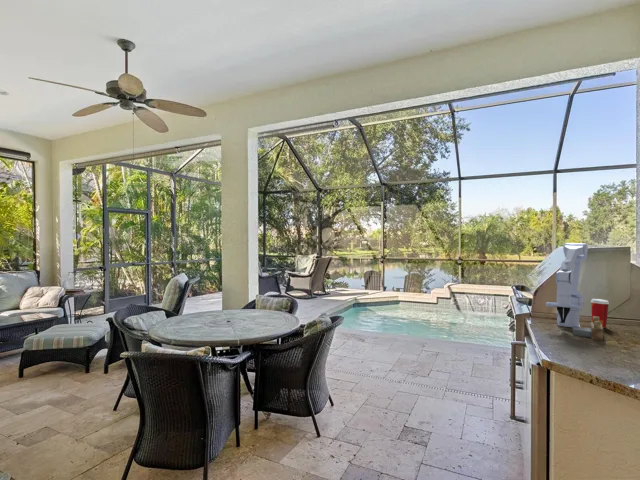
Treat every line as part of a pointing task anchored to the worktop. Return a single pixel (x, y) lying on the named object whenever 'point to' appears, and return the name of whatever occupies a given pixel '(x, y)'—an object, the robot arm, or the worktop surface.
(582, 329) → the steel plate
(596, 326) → the bench dog block
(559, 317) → the robot arm
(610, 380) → the worktop surface
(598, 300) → the paper cup
